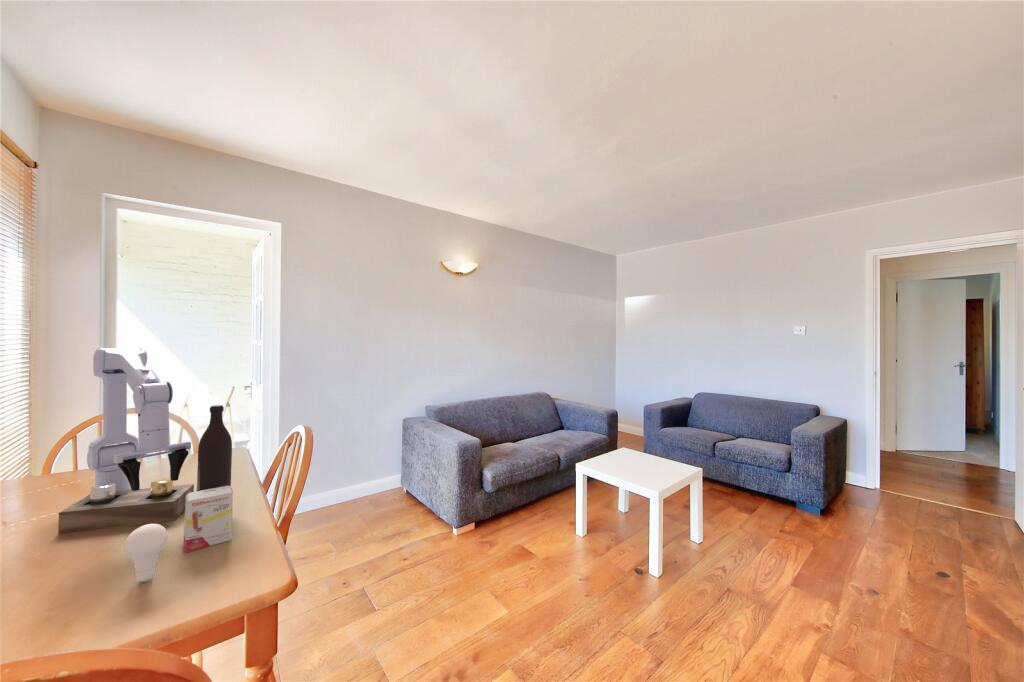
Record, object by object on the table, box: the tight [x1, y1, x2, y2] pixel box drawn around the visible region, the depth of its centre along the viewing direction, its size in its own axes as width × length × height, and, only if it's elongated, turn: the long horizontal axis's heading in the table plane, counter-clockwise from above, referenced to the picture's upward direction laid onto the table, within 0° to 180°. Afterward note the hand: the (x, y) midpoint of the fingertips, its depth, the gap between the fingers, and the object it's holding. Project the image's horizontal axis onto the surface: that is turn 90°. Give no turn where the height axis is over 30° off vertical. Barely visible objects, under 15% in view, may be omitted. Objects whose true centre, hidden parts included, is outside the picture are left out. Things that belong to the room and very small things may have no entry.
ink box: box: [183, 485, 234, 553], centre depth 88 cm, size 9×5×12 cm, turn 133°
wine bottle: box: [196, 404, 233, 491], centre depth 99 cm, size 7×7×30 cm
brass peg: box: [150, 477, 174, 499], centre depth 102 cm, size 4×4×5 cm
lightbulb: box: [124, 523, 169, 583], centre depth 74 cm, size 6×6×11 cm
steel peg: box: [89, 483, 116, 505], centre depth 97 cm, size 4×4×5 cm
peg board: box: [57, 483, 195, 534], centre depth 100 cm, size 12×22×5 cm, turn 111°
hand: (155, 485), depth 94 cm, fingers open, 7 cm apart
